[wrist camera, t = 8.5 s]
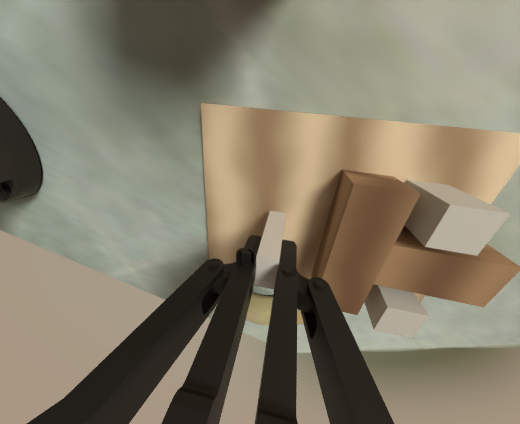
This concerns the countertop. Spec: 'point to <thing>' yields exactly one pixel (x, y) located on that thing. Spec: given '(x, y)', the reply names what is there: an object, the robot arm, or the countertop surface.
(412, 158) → the board
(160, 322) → the robot arm
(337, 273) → the tee
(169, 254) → the countertop surface
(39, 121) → the countertop surface
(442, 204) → the posts
